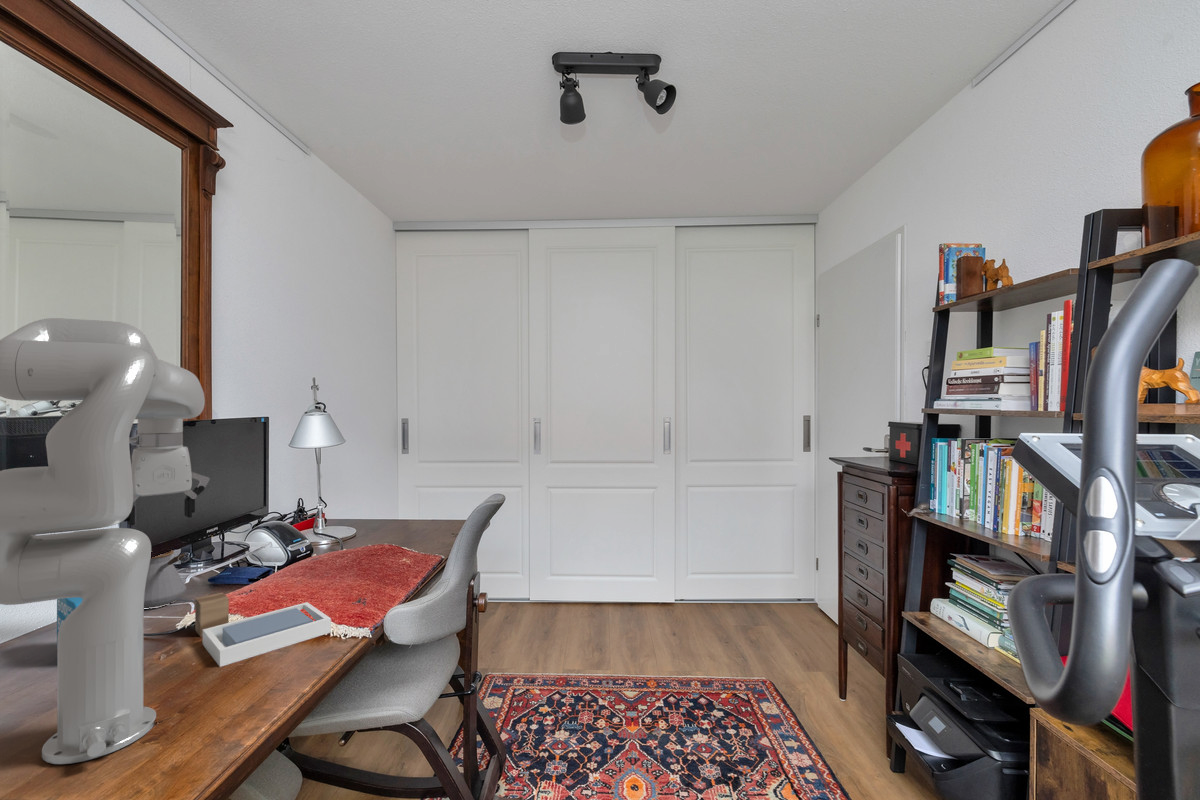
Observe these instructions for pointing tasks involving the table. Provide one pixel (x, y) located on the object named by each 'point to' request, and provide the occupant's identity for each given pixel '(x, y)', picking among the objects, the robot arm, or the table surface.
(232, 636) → the bottom board
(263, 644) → the tote
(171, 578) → the coffee pot
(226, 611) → the walnut block
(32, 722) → the table surface
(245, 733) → the table surface
